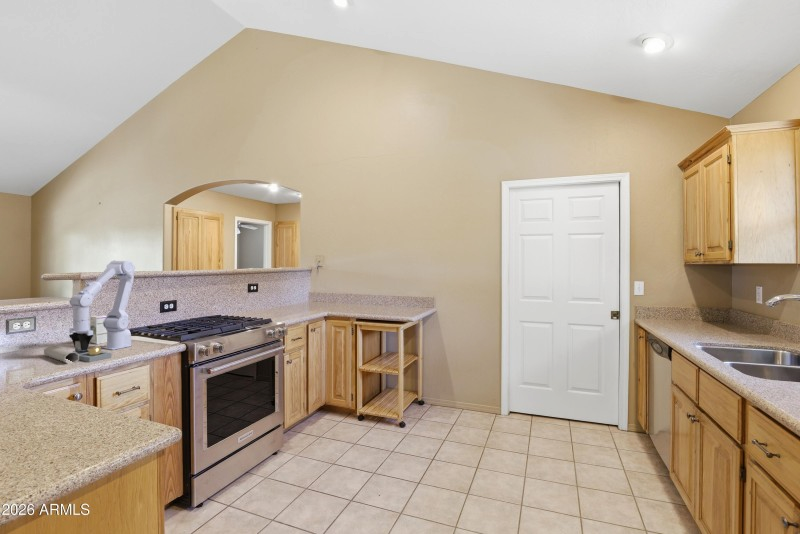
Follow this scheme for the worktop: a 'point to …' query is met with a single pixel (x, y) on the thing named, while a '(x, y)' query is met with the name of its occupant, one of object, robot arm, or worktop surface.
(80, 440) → the worktop surface
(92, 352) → the seated bushing
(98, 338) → the syrup box
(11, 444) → the worktop surface
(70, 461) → the worktop surface
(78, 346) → the cylinder
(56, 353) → the tube
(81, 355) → the jig
